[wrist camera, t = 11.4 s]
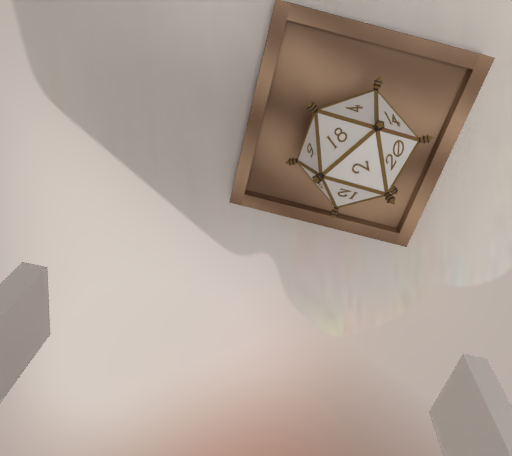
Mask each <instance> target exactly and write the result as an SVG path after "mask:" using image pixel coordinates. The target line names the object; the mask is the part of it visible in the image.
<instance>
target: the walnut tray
mask: <svg viewBox="0 0 512 456" xmlns="http://www.w3.org/2000/svg"><path fill="white" fill-rule="evenodd" d="M494 59H495V58H493V57H489V56H486V55H482V54H478V53H475V52H471V51H467V50H463V49H460V48H456V47H452V46H449V45H445V44H441V43H437V42H434V41H430V40H426V39H422V38H419V37H415V36H411V35H408V34H404V33H400V32H396V31H393V30H389V29H385V28H382V27H378V26H374V25H370V24H367V23H363V22H359V21H355V20H352V19H348V18H344V17H341V16H337V15H333V14H329V13H326V12H322V11H318V10H315V9H311V8H307V7H303V6H300V5H296V4H292V3H288V2H285V1H281V0H276V1H275V6H274V10H273V14H272V19H271V23H270V28H269V32H268V36H267V41H266V45H265V49H264V54H263V58H262V63H261V67H260V71H259V76H258V80H257V84H256V89H255V93H254V98H253V102H252V106H251V111H250V115H249V119H248V124H247V128H246V133H245V137H244V141H243V146H242V150H241V154H240V159H239V163H238V168H237V172H236V176H235V181H234V185H233V189H232V194H231V198H230V203H234V204H238V205H242V206H246V207H250V208H254V209H258V210H262V211H266V212H270V213H274V214H278V215H282V216H286V217H290V218H294V219H298V220H302V221H306V222H310V223H314V224H318V225H322V226H326V227H330V228H334V229H338V230H342V231H346V232H350V233H354V234H358V235H362V236H366V237H370V238H374V239H377V240H381V241H385V242H389V243H393V244H397V245H401V246H405V247H407V245H408V242H409V240H410V238H411V236H412V234H413V232H414V230H415V227H416V225H417V223H418V221H419V219H420V217H421V215H422V212H423V210H424V208H425V206H426V204H427V202H428V200H429V197H430V195H431V193H432V191H433V189H434V187H435V185H436V183H437V180H438V178H439V176H440V174H441V172H442V170H443V168H444V165H445V163H446V161H447V159H448V157H449V155H450V153H451V150H452V148H453V146H454V144H455V142H456V140H457V138H458V135H459V133H460V131H461V129H462V127H463V125H464V123H465V121H466V118H467V116H468V114H469V112H470V110H471V108H472V106H473V103H474V101H475V99H476V97H477V95H478V93H479V91H480V88H481V86H482V84H483V82H484V80H485V78H486V76H487V73H488V71H489V69H490V67H491V65H492V63H493V61H494ZM379 76H381V80H382V83H381V87H380V88H379V89H378V91H379V92H380V93H381V95H382V96H383V97H384V98H385V99H386V100H387V102H388V103H389V104H390V105H391V106H392V107H393V108H394V110H395V111H396V112H397V113H398V114H399V115H400V117H401V118H402V119H403V120H404V121H405V122H406V123H407V125H408V126H409V127H410V128H411V129H412V130H413V132H414V133H415V134H416V135H417V136H418V137H423V136H427V135H429V136H432V137H434V138H433V139H432V140H431V141H430V142H429V143H428V142H427V143H425V144H424V143H419V144H418V146H417V148H416V149H415V151H414V153H413V154H412V156H411V158H410V159H409V161H408V163H407V165H406V166H405V168H404V170H403V171H402V173H401V175H400V176H399V178H398V180H397V181H396V183H395V185H394V186H395V187H396V188H397V189H398V191H397V194H393V197H395V205H394V204H391V203H387V200H385V199H386V198H385V196H384V197H380V198H376V199H372V200H368V201H364V202H360V203H356V204H352V205H348V206H345V207H341V208H339V209H338V212H339V213H338V214H337V215H338V216H336V217H335V218H333V219H332V217H331V214H330V213H331V212H332V211H331V210H332V209H333V208H334V206H333V205H332V204H331V202H330V201H329V200H328V199H327V198H326V196H325V195H324V194H323V193H322V192H321V191H320V189H319V188H318V187H317V186H316V185H315V183H314V182H313V181H312V180H311V179H310V177H309V176H308V175H307V174H306V173H305V171H304V170H303V169H302V168H301V167H300V165H299V164H298V163H296V164H295V165H293V164H292V165H291V166H290V165H289V164H286V163H285V162H287V161H288V160H289V158H290V159H291V158H295V159H296V158H297V157H298V154H299V152H300V149H301V146H302V143H303V141H304V138H305V135H306V132H307V130H308V127H309V124H310V121H311V119H312V116H313V113H314V112H312V111H310V110H309V109H307V102H306V101H309V102H314V104H315V105H317V106H316V107H317V108H320V107H322V106H326V105H329V104H332V103H335V102H338V101H341V100H344V99H346V98H349V97H352V96H355V95H358V94H361V93H364V92H367V91H370V90H372V89H373V88H374V85H373V84H374V82H375V81H374V80H376V79H377V78H378V77H379ZM390 194H392V193H391V192H390Z"/></svg>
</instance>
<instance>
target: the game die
mask: <svg viewBox="0 0 512 456" xmlns="http://www.w3.org/2000/svg"><path fill="white" fill-rule="evenodd" d="M374 81H375V82H374V84H373V85H374V88H373V89H372V90H370V91H367V92H364V93H361V94H358V95H355V96H352V97H349V98H346V99H344V100H341V101H338V102H335V103H332V104H329V105H326V106H322V107H320V108H317V107H316V106H317V105H315V104H314V102H309V101H306V102H307V109H309V110H310V111H312V112H314V113H313V116H312V119H311V121H310V124H309V127H308V130H307V132H306V135H305V138H304V141H303V143H302V146H301V149H300V152H299V154H298V157H297V158H296V159H295V158H291V159H290V158H289V160H288V161H287V162H285V163H286V164H289V165H290V166H291V165H292V164H293V165H295V164H296V163H298V164H299V165H300V167H301V168H302V169H303V170H304V171H305V173H306V174H307V175H308V176H309V177H310V179H311V180H312V181H313V182H314V183H315V185H316V186H317V187H318V188H319V189H320V191H321V192H322V193H323V194H324V195H325V196H326V198H327V199H328V200H329V201H330V202H331V204H332V205H333V206H334V208H333V209H332V210H331V211H332V212H331V213H330V214H331V217H332V219H333V218H335V217H336V216H338V215H337V214H338V213H339V212H338V209H339V208H341V207H345V206H348V205H352V204H356V203H360V202H364V201H368V200H372V199H376V198H380V197H384V196H385V198H386V199H385V200H387V203H391V204H394V205H395V197H393V194H397V191H398V189H397V188H396V187H395V186H394V185H395V183H396V181H397V180H398V178H399V176H400V175H401V173H402V171H403V170H404V168H405V166H406V165H407V163H408V161H409V159H410V158H411V156H412V154H413V153H414V151H415V149H416V148H417V146H418V144H419V143H424V144H425V143H427V142H428V143H429V142H430V141H431V140H432V139H433V138H434V137H432V136H429V135H427V136H423V137H418V136H417V135H416V134H415V133H414V132H413V130H412V129H411V128H410V127H409V126H408V125H407V123H406V122H405V121H404V120H403V119H402V118H401V117H400V115H399V114H398V113H397V112H396V111H395V110H394V108H393V107H392V106H391V105H390V104H389V103H388V102H387V100H386V99H385V98H384V97H383V96H382V95H381V93H380V92H379V91H378V89H379V88H380V87H381V83H382V80H381V76H379V77H378V78H377V79H376V80H374ZM390 192H391V193H392V194H390Z"/></svg>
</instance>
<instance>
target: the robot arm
mask: <svg viewBox="0 0 512 456" xmlns="http://www.w3.org/2000/svg"><path fill="white" fill-rule="evenodd" d="M48 297H49V295H48V271H47V267H44V266H39V265H34V264H29V263H24V262H22V263H21V264H20V265H19V266H18V267H17V268H16V269H15V270H14V271H13V272H12V273H11V274H10V275H9V276H8V277H7V278H6V279H5V280H4V281H3V282H2V283H1V284H0V403H1V402H2V400H3V399H4V397H5V396H6V395H7V393H8V392H9V390H10V389H11V388H12V386H13V385H14V384H15V382H16V381H17V379H18V378H19V377H20V375H21V374H22V372H23V371H24V370H25V368H26V367H27V366H28V364H29V363H30V361H31V360H32V359H33V357H34V356H35V355H36V353H37V352H38V350H39V349H40V348H41V346H42V345H43V343H44V342H45V341H46V339H47V338H48V337H49V335H50V320H49V319H50V318H49V298H48ZM429 412H430V416H431V419H432V422H433V425H434V428H435V431H436V435H437V438H438V441H439V444H440V447H441V450H442V453H443V456H512V406H511V404H510V402H509V400H508V398H507V396H506V394H505V392H504V391H503V389H502V387H501V385H500V383H499V381H498V379H497V377H496V375H495V373H494V372H493V370H492V368H491V366H490V364H489V362H488V360H487V359H485V358H480V357H475V356H470V355H466V354H463V355H462V357H461V358H460V360H459V362H458V364H457V365H456V367H455V369H454V370H453V372H452V374H451V375H450V377H449V379H448V381H447V382H446V384H445V386H444V388H443V389H442V391H441V393H440V394H439V396H438V398H437V399H436V401H435V403H434V405H433V406H432V408H431V410H430V411H429Z"/></svg>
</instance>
